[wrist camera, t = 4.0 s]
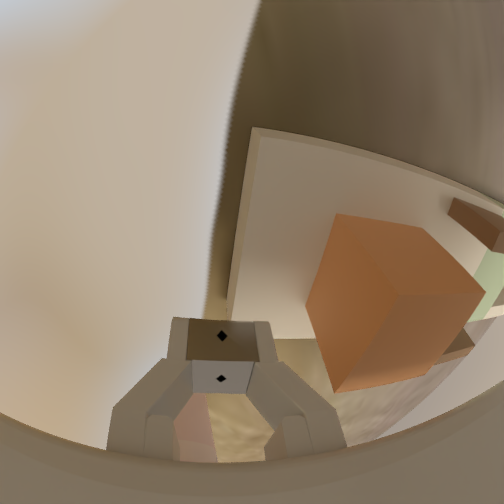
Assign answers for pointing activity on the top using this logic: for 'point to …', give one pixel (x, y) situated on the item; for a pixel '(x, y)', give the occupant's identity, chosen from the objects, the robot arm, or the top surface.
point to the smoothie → (195, 431)
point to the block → (386, 302)
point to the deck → (348, 203)
